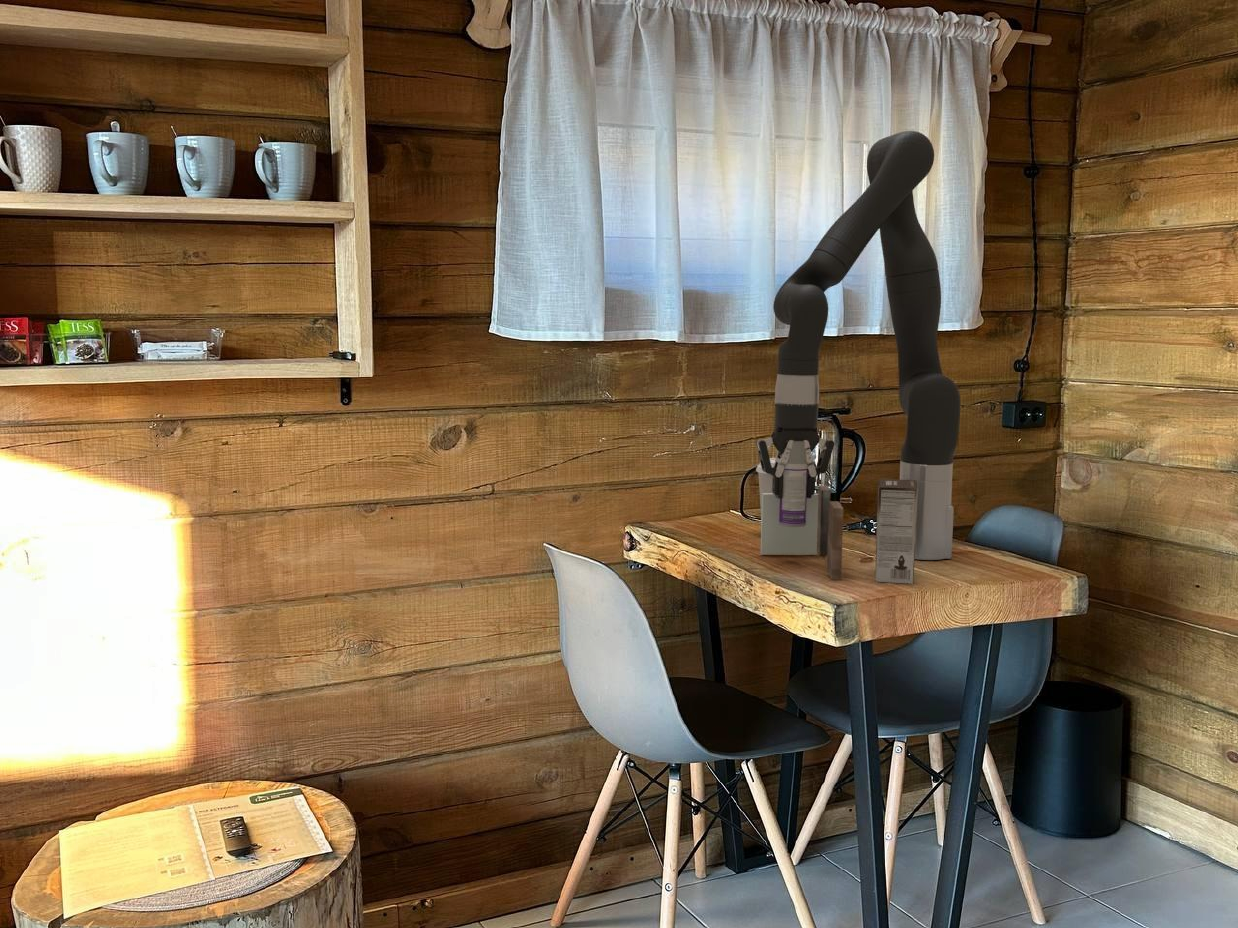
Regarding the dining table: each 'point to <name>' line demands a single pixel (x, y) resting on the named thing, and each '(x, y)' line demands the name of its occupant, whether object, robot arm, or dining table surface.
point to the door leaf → (788, 529)
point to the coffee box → (896, 530)
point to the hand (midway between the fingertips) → (793, 497)
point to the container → (794, 488)
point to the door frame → (830, 532)
